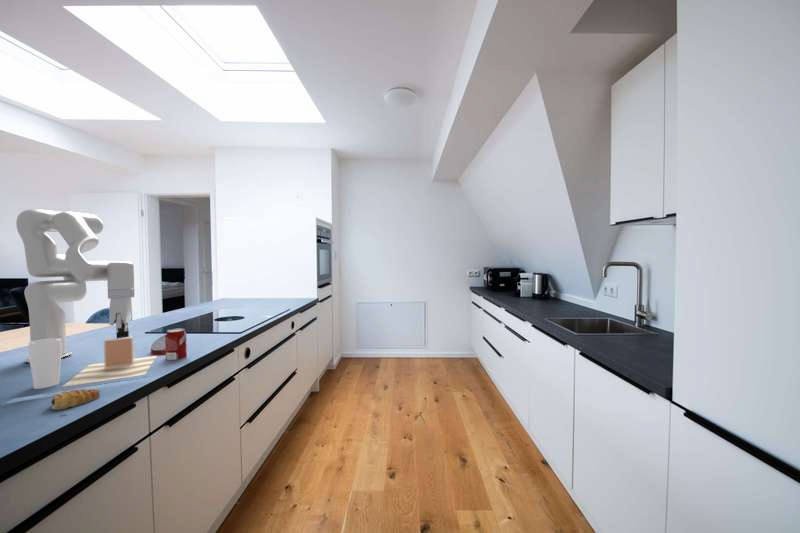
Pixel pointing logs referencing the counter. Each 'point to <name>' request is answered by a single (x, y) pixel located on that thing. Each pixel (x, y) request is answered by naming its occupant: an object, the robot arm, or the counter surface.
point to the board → (111, 372)
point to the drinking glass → (45, 362)
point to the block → (118, 351)
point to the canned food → (158, 346)
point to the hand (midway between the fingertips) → (122, 341)
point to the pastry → (73, 398)
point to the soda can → (175, 344)
